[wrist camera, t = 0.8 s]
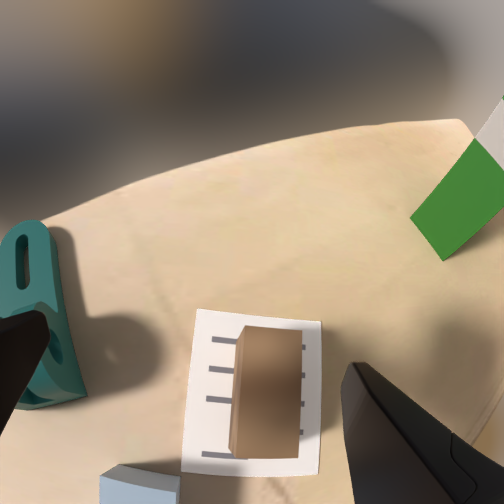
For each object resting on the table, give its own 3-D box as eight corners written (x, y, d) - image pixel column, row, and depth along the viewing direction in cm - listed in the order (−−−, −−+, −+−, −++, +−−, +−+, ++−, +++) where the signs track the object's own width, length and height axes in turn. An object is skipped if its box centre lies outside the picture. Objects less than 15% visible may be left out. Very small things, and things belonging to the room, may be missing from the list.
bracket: (88, 395, 19) (44, 386, 12) (28, 410, 17) (-26, 402, 10) (55, 224, 26) (28, 173, 20) (7, 243, 24) (-26, 198, 17)
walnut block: (278, 449, 19) (298, 458, 15) (228, 447, 19) (235, 458, 15) (283, 345, 24) (302, 330, 20) (236, 341, 24) (244, 325, 19)
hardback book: (454, 188, 42) (528, 90, 22) (480, 220, 39) (561, 128, 19) (409, 217, 35) (514, 78, 15) (442, 261, 33) (566, 134, 12)
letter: (317, 473, 19) (317, 474, 19) (180, 471, 17) (180, 471, 17) (320, 321, 26) (321, 321, 26) (197, 308, 25) (197, 308, 25)
